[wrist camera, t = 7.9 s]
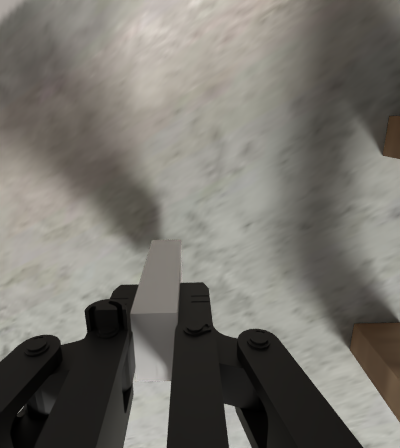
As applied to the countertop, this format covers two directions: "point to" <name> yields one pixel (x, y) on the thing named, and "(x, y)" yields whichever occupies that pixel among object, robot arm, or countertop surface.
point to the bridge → (382, 332)
